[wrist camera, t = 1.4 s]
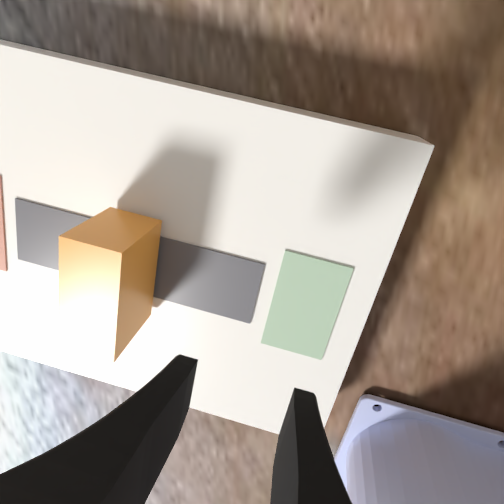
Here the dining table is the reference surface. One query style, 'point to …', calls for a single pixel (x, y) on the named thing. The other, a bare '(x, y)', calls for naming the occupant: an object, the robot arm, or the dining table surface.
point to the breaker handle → (106, 281)
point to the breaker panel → (201, 226)
